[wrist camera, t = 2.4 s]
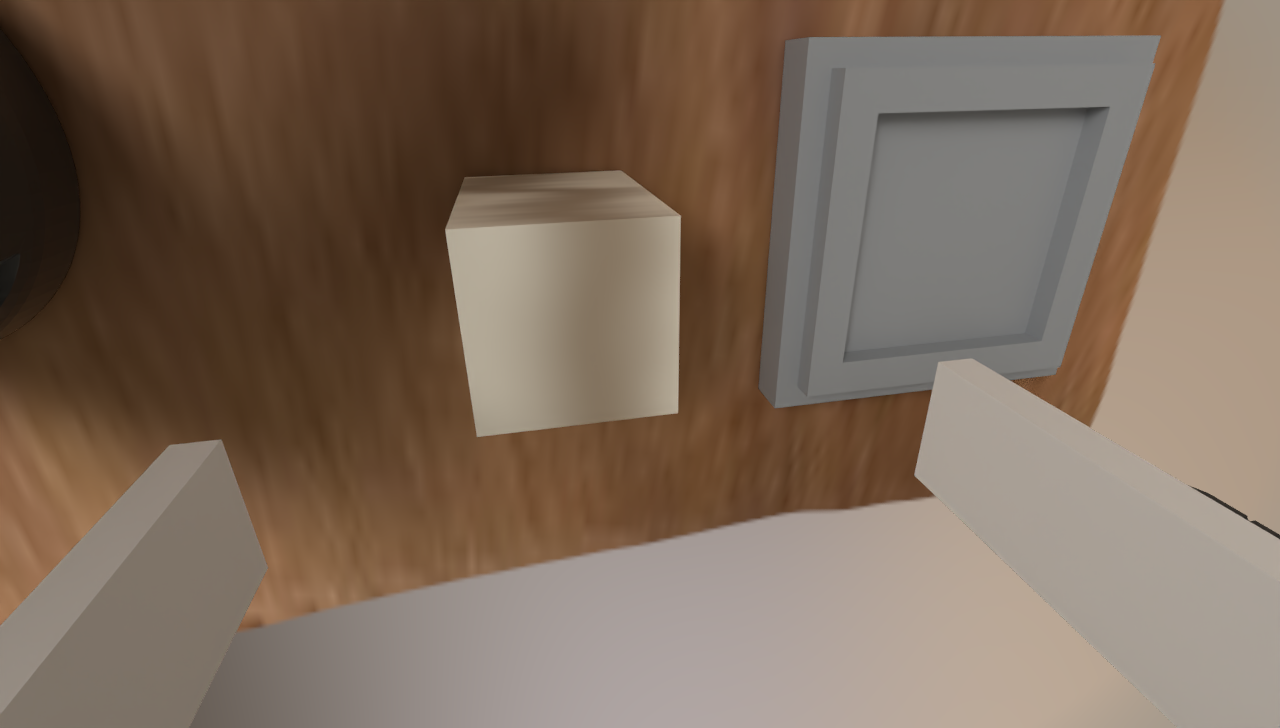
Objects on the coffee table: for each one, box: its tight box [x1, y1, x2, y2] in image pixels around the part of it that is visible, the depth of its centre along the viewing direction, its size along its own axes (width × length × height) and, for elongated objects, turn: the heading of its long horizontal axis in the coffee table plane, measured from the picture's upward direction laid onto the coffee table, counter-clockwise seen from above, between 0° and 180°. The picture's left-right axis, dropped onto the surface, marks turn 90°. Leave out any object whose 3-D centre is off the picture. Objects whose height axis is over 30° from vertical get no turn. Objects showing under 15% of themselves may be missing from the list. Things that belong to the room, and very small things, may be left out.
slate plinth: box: [758, 36, 1161, 408], centre depth 26 cm, size 15×15×3 cm
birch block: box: [445, 170, 681, 437], centre depth 21 cm, size 6×6×9 cm
